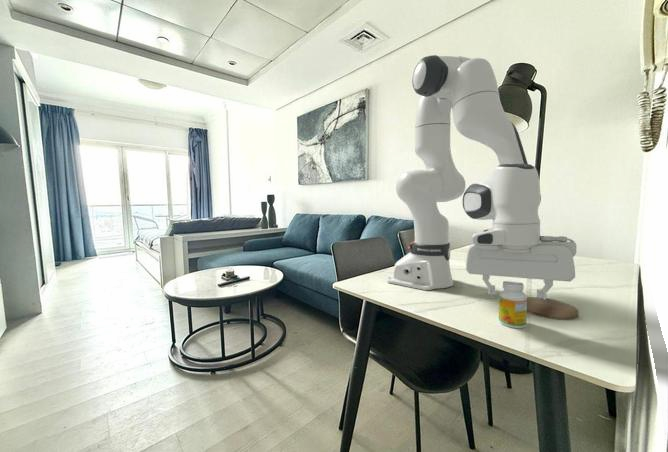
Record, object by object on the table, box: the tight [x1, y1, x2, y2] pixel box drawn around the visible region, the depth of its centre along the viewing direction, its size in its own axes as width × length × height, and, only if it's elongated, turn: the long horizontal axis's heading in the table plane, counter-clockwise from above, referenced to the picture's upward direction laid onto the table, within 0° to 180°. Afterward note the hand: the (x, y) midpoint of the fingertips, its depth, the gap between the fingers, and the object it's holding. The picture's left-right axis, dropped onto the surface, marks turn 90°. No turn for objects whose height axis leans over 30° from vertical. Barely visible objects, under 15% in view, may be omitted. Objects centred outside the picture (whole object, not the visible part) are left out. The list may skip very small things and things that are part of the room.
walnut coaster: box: [527, 296, 580, 320], centre depth 70 cm, size 12×12×1 cm
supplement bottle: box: [498, 279, 528, 329], centre depth 63 cm, size 5×5×10 cm
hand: (515, 296), depth 62 cm, fingers open, 8 cm apart
